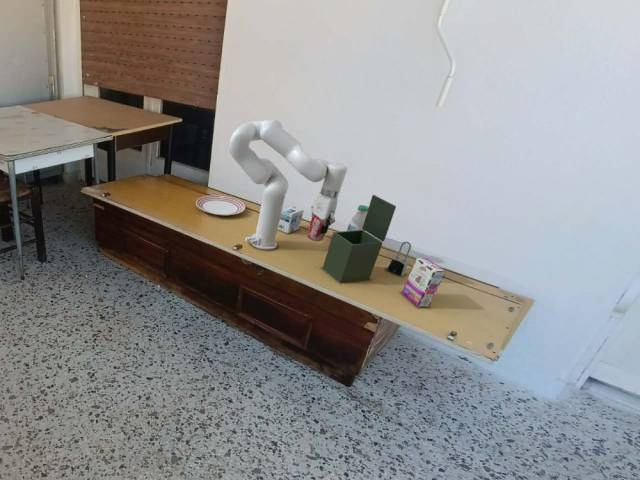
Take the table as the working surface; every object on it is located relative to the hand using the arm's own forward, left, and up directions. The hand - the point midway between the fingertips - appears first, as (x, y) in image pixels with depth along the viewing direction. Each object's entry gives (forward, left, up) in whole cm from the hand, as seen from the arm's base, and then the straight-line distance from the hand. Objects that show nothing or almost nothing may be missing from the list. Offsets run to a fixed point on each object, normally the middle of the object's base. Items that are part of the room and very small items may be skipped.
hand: (317, 229), depth 208 cm
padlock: (+29, -22, -13) cm, 39 cm away
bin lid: (+11, -19, +13) cm, 26 cm away
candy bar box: (+20, -43, -13) cm, 49 cm away
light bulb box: (+5, +28, -13) cm, 31 cm away
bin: (+5, -19, -13) cm, 24 cm away
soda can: (0, 0, -5) cm, 5 cm away
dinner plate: (-20, +59, -13) cm, 63 cm away
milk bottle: (+27, +6, -13) cm, 30 cm away
